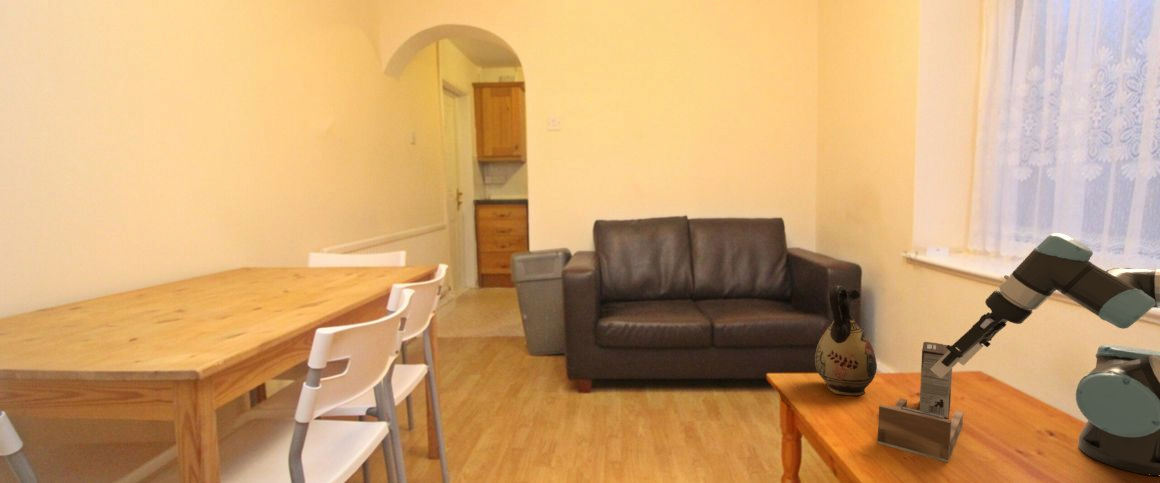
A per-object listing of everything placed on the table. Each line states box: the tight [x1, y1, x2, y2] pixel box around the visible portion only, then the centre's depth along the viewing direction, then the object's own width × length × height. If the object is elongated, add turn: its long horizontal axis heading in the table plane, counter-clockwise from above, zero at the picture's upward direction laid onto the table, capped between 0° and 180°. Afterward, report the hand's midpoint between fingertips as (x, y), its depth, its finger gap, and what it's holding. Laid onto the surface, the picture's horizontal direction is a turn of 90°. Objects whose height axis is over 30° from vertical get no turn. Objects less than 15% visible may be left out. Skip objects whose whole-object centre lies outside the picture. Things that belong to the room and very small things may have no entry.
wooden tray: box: [877, 398, 964, 463], centre depth 121 cm, size 22×13×8 cm, turn 138°
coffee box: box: [919, 341, 953, 419], centre depth 133 cm, size 9×6×16 cm
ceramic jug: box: [814, 284, 878, 397], centre depth 146 cm, size 17×15×30 cm
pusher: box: [902, 407, 945, 419], centre depth 120 cm, size 5×8×4 cm, turn 48°
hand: (947, 367), depth 122 cm, fingers open, 13 cm apart
